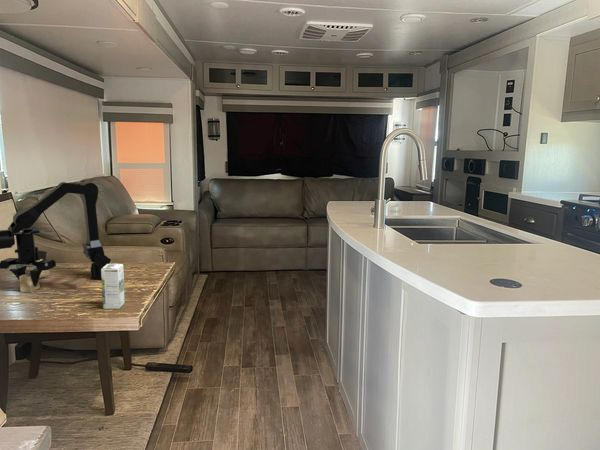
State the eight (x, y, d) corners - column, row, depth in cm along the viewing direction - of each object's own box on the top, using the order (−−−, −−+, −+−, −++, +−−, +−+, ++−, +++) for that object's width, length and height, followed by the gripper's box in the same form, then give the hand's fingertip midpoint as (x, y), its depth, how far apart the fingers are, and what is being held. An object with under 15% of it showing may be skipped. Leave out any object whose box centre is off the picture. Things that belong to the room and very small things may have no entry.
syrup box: (108, 303, 157) (105, 263, 154) (125, 303, 158) (123, 263, 155) (102, 309, 152) (99, 268, 149) (120, 309, 152) (118, 268, 149)
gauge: (53, 281, 180) (52, 266, 179) (30, 292, 166) (28, 277, 165) (44, 280, 180) (42, 266, 179) (20, 292, 167) (18, 276, 165)
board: (86, 283, 178) (85, 278, 178) (76, 288, 172) (76, 283, 171) (38, 281, 180) (38, 276, 179) (27, 286, 173) (27, 281, 173)
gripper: (63, 241, 173) (66, 280, 176) (17, 240, 175) (21, 278, 177) (44, 248, 162) (48, 289, 165) (-4, 246, 164) (0, 287, 167)
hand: (30, 285), depth 169 cm, fingers closed on gauge, 4 cm apart
